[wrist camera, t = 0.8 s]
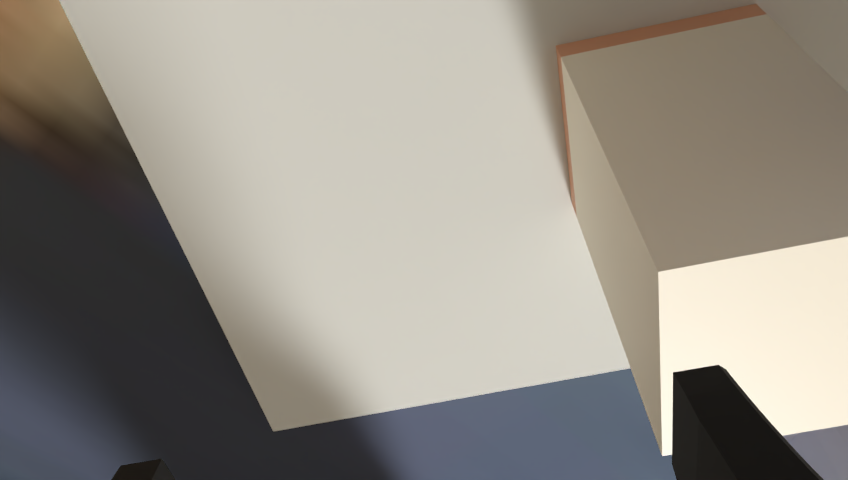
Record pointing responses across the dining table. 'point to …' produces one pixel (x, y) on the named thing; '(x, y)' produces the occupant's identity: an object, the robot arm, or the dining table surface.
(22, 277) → the dining table surface
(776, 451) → the robot arm
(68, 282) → the dining table surface
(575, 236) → the mat
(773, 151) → the block
